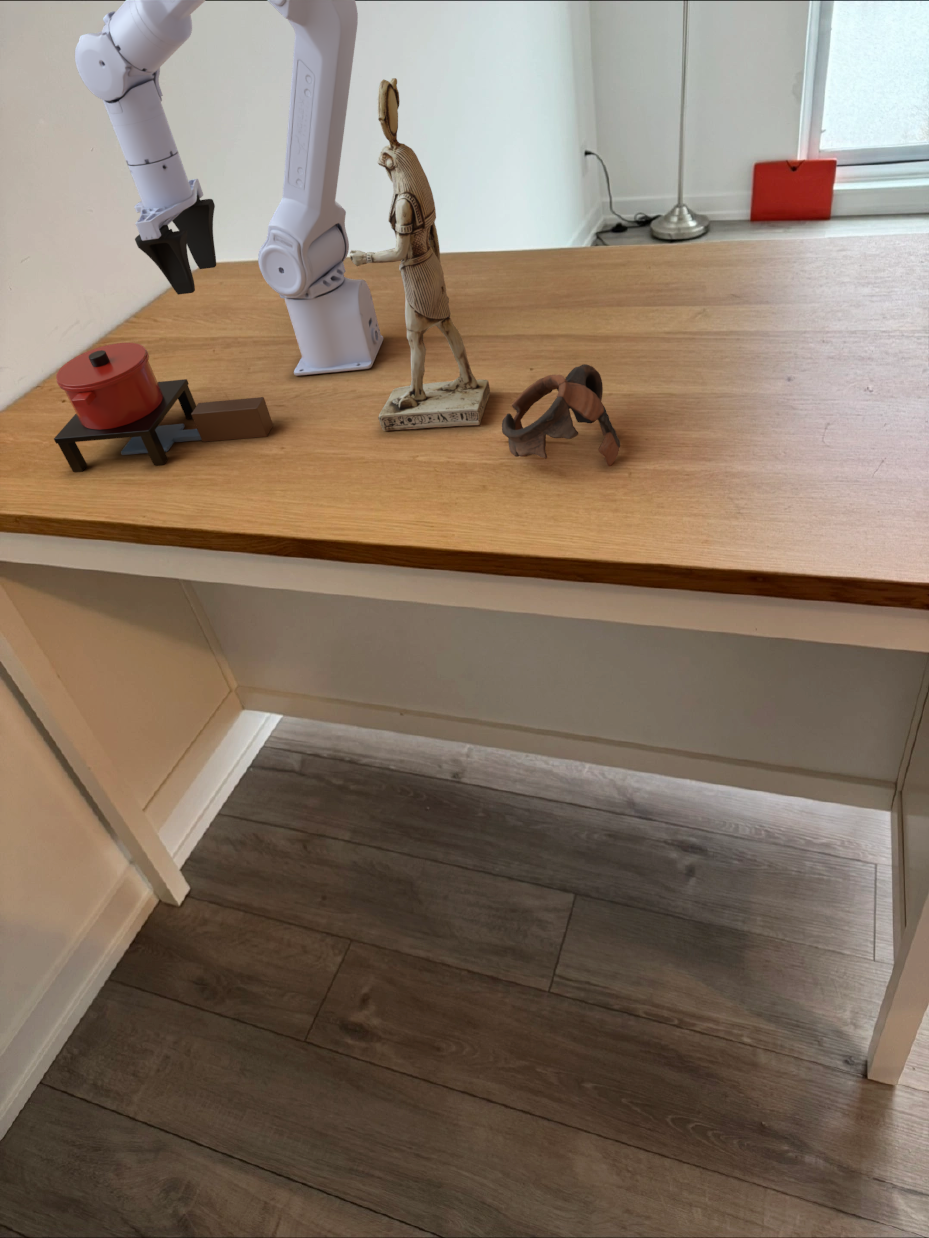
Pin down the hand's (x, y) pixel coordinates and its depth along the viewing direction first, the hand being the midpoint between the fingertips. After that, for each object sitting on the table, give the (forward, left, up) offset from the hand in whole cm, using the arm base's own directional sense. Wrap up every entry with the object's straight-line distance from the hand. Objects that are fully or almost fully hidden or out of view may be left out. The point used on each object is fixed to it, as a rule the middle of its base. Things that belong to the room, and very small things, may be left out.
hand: (197, 279), depth 105 cm
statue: (-31, +20, -10) cm, 38 cm away
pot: (+3, +21, -9) cm, 23 cm away
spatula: (-5, +21, -9) cm, 24 cm away
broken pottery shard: (-45, +29, -10) cm, 54 cm away
